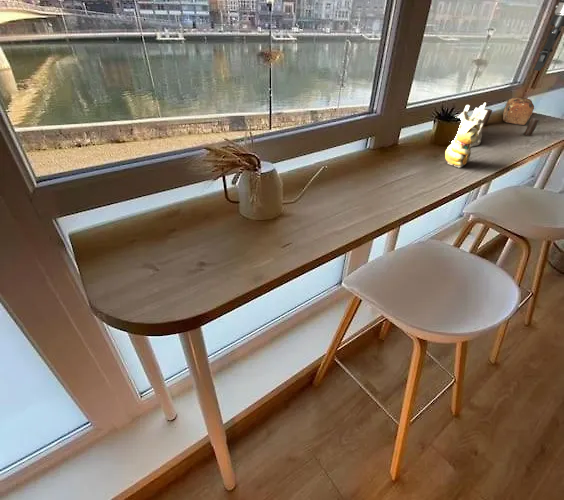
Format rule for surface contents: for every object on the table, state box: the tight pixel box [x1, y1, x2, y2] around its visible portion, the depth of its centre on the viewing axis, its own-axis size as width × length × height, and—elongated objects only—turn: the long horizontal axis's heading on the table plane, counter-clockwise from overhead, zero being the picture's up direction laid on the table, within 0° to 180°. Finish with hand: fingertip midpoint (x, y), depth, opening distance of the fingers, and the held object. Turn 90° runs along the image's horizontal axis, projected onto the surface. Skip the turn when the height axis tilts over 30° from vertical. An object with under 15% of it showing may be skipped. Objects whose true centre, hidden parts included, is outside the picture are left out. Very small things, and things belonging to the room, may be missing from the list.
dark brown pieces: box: [483, 108, 540, 137], centre depth 148 cm, size 22×3×7 cm, turn 51°
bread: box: [502, 96, 535, 126], centre depth 161 cm, size 19×11×10 cm, turn 151°
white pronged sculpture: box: [450, 102, 488, 148], centre depth 134 cm, size 16×16×15 cm
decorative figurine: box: [444, 121, 480, 169], centre depth 113 cm, size 10×8×15 cm
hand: (538, 68), depth 158 cm, fingers open, 13 cm apart
